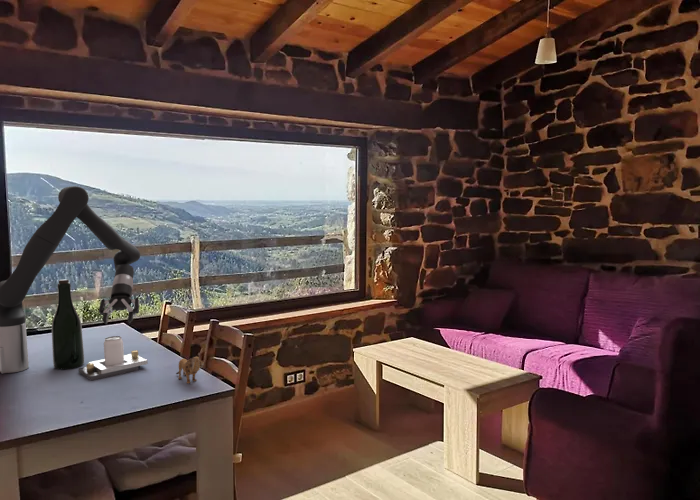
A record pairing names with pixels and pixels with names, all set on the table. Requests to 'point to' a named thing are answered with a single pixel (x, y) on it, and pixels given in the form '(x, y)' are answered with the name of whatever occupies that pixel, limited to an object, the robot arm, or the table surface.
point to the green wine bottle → (66, 331)
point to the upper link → (129, 362)
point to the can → (113, 351)
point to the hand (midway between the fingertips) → (117, 322)
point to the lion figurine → (189, 367)
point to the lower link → (94, 375)
